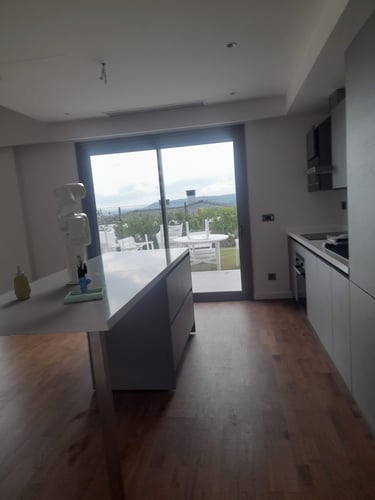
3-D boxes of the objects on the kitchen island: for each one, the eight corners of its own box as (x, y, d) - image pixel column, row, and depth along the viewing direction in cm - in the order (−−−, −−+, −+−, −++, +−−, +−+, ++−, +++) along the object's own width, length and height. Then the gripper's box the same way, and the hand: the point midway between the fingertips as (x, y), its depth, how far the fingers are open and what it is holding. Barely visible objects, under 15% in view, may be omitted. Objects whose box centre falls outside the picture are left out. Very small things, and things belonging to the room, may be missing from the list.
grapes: (92, 295, 166) (88, 272, 164) (78, 297, 165) (74, 274, 162) (94, 288, 177) (90, 266, 175) (80, 290, 176) (77, 268, 173)
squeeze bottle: (25, 300, 176) (19, 267, 173) (12, 300, 177) (6, 267, 175) (35, 296, 183) (30, 264, 181) (22, 296, 185) (17, 264, 183)
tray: (70, 296, 175) (69, 291, 175) (105, 291, 178) (104, 287, 178) (65, 303, 162) (64, 298, 161) (102, 298, 164) (102, 293, 164)
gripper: (73, 240, 174) (78, 273, 176) (67, 244, 157) (72, 280, 159) (88, 239, 175) (92, 271, 177) (83, 242, 158) (88, 278, 160)
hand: (83, 275), depth 168 cm, fingers closed on grapes, 8 cm apart
